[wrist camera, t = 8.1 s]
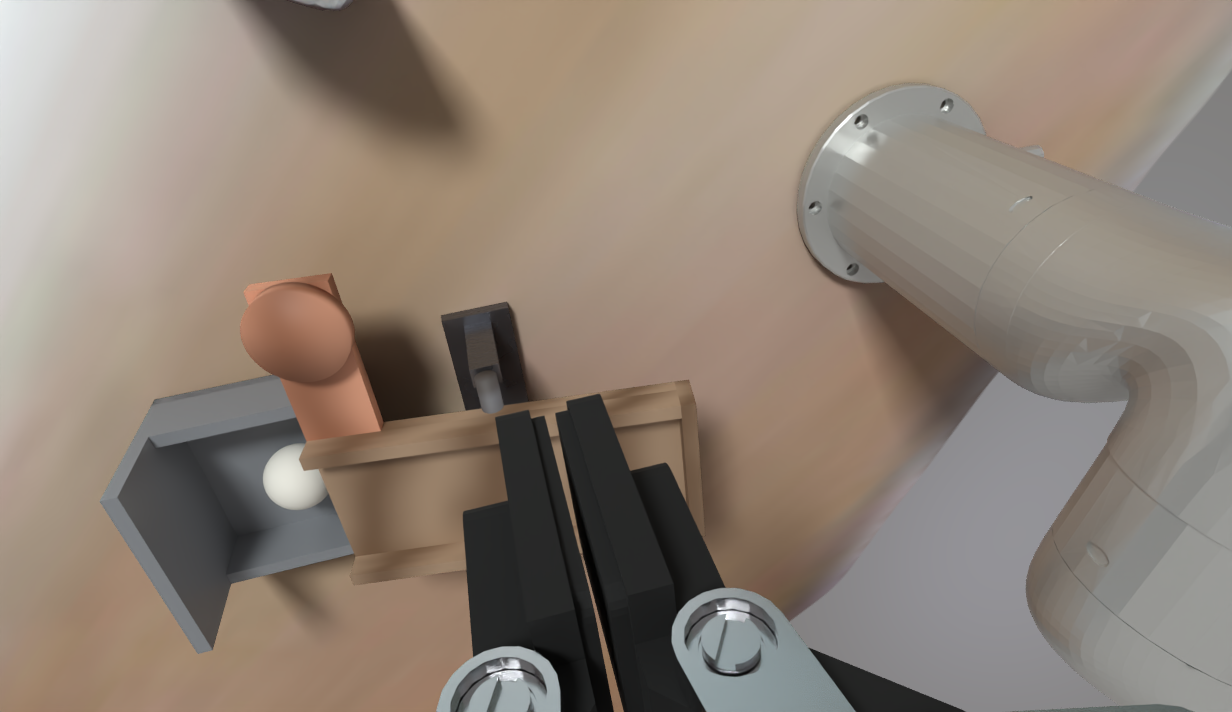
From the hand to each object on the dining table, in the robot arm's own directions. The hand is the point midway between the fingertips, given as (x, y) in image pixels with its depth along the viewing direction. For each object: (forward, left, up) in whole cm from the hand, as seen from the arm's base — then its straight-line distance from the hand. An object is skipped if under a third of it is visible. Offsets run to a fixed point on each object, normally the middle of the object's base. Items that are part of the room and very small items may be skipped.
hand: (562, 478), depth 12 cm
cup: (+15, +20, -32) cm, 41 cm away
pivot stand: (+2, +20, -32) cm, 38 cm away
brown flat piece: (+2, +16, -26) cm, 31 cm away
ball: (+14, +20, -30) cm, 38 cm away
